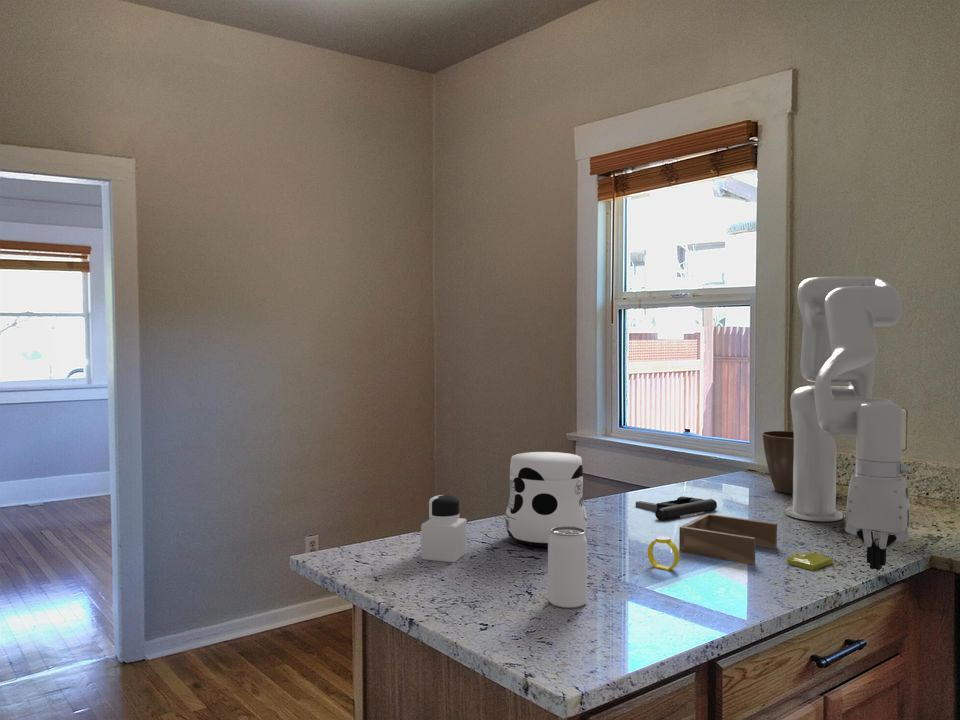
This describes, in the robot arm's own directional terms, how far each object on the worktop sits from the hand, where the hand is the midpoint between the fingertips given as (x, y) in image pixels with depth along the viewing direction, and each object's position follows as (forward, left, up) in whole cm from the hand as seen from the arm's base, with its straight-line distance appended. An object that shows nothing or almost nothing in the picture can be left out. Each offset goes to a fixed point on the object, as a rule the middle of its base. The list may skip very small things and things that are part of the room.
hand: (876, 567), depth 145 cm
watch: (+20, -33, -2) cm, 39 cm away
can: (+47, -38, -2) cm, 60 cm away
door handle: (-26, -51, -2) cm, 57 cm away
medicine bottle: (+39, -71, -2) cm, 81 cm away
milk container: (+17, -61, -2) cm, 63 cm away
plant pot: (-68, -34, -2) cm, 76 cm away
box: (0, -27, -1) cm, 27 cm away
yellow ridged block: (0, -12, -2) cm, 12 cm away
